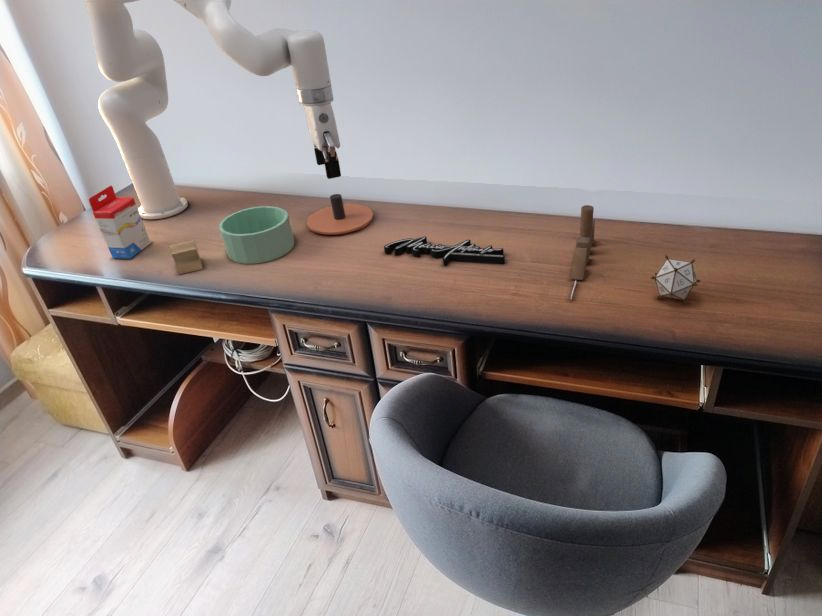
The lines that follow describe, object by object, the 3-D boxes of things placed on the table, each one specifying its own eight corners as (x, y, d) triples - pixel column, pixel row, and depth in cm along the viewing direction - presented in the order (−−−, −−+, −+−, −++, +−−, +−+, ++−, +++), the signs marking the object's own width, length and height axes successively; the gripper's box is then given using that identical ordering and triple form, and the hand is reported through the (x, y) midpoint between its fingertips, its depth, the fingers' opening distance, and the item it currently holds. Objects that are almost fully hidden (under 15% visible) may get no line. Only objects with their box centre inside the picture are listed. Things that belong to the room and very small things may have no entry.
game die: (659, 311, 122) (640, 263, 122) (702, 294, 121) (683, 245, 120) (667, 315, 114) (646, 263, 113) (714, 296, 112) (693, 243, 112)
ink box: (130, 259, 146) (105, 200, 138) (112, 258, 147) (85, 199, 139) (152, 242, 153) (129, 184, 144) (134, 241, 154) (110, 184, 145)
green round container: (223, 242, 151) (215, 215, 146) (288, 227, 155) (281, 200, 151) (231, 270, 139) (222, 241, 135) (301, 253, 144) (294, 225, 139)
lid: (301, 217, 160) (295, 192, 156) (362, 203, 164) (358, 178, 160) (315, 242, 147) (309, 216, 143) (381, 226, 152) (377, 200, 148)
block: (178, 264, 143) (170, 244, 140) (200, 259, 144) (193, 239, 141) (179, 274, 139) (171, 254, 136) (202, 268, 141) (195, 248, 138)
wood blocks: (582, 240, 140) (584, 196, 134) (594, 241, 139) (596, 197, 133) (564, 300, 121) (566, 251, 115) (577, 301, 120) (580, 252, 114)
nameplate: (377, 255, 137) (392, 234, 145) (378, 261, 138) (392, 240, 146) (502, 262, 131) (510, 240, 139) (502, 269, 132) (510, 247, 140)
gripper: (342, 101, 133) (354, 179, 143) (322, 83, 146) (335, 156, 156) (306, 107, 130) (322, 186, 141) (290, 88, 143) (305, 162, 154)
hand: (328, 170), depth 148 cm, fingers open, 9 cm apart
